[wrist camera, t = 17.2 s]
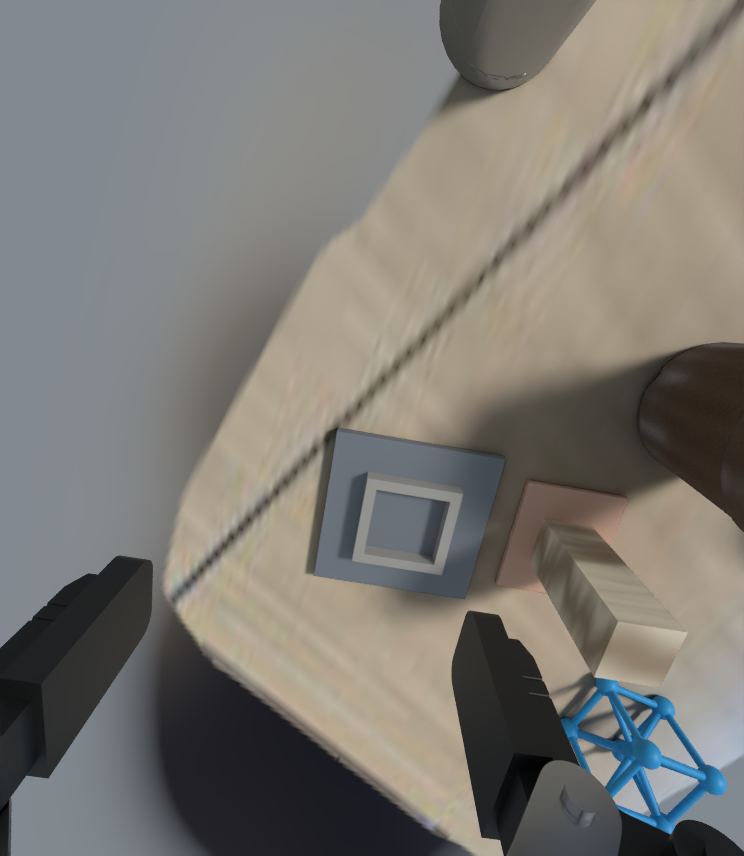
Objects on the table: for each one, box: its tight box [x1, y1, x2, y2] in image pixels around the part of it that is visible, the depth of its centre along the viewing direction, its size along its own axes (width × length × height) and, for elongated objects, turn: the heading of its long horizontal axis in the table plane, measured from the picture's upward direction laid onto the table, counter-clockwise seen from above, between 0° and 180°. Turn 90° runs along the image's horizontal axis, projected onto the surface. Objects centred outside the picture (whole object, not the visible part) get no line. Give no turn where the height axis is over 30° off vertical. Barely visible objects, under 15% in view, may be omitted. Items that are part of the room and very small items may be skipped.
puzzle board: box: [314, 428, 505, 599], centre depth 43 cm, size 16×16×2 cm
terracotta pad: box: [495, 480, 629, 593], centre depth 44 cm, size 12×10×1 cm
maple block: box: [529, 519, 688, 687], centre depth 37 cm, size 5×5×14 cm
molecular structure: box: [560, 678, 727, 834], centre depth 47 cm, size 10×10×10 cm
